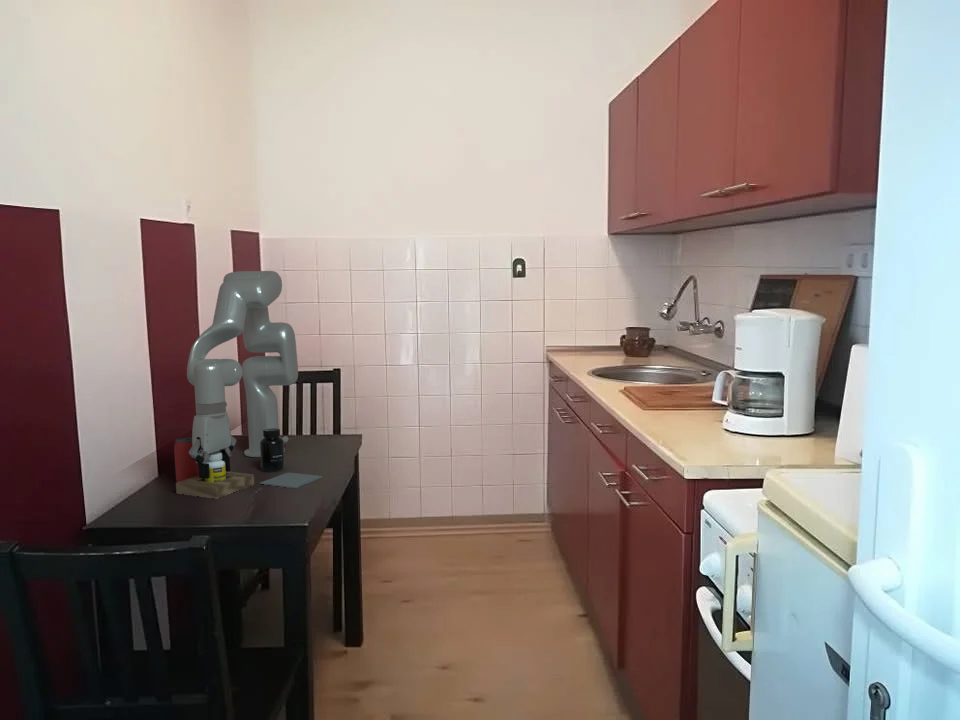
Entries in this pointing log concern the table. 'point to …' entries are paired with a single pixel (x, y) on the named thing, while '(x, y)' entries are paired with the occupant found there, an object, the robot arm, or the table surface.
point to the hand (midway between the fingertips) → (215, 473)
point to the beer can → (184, 460)
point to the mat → (291, 480)
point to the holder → (215, 485)
